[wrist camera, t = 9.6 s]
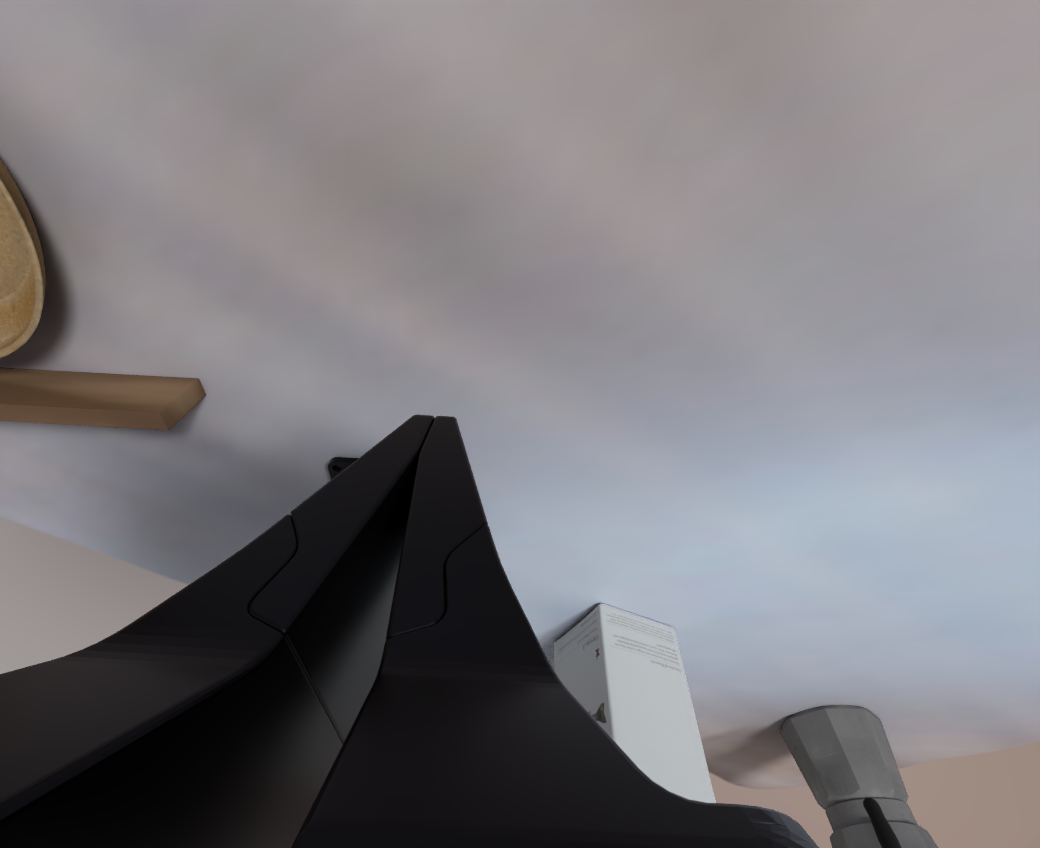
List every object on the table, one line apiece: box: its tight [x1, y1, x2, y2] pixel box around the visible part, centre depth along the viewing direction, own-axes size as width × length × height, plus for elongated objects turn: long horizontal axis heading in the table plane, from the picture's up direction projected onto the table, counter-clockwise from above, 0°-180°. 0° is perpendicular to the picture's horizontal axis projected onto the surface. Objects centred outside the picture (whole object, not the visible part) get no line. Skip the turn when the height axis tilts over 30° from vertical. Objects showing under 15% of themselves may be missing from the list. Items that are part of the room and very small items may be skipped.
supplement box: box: [554, 603, 716, 803], centre depth 32 cm, size 7×7×13 cm
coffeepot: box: [780, 705, 938, 848], centre depth 38 cm, size 15×9×18 cm, turn 26°
